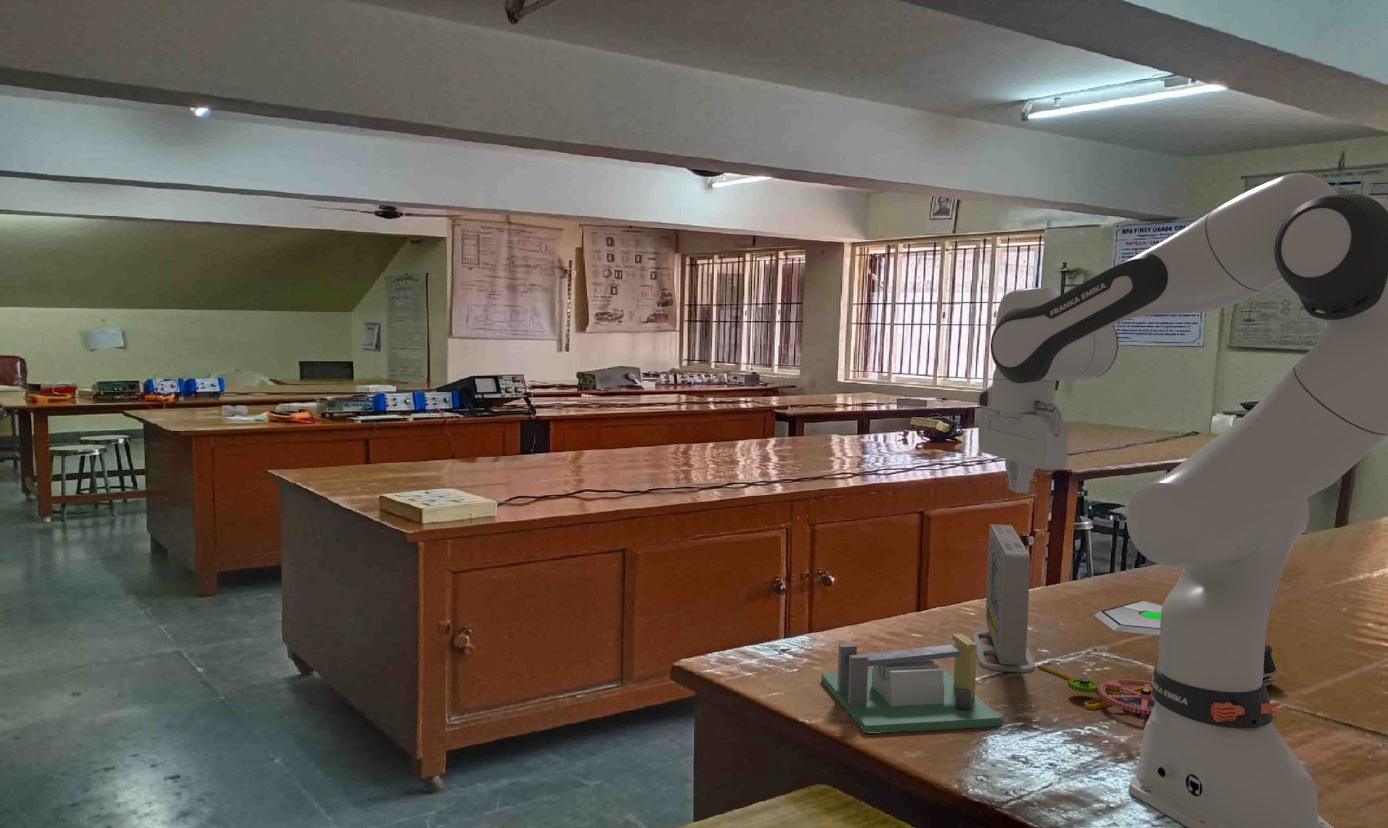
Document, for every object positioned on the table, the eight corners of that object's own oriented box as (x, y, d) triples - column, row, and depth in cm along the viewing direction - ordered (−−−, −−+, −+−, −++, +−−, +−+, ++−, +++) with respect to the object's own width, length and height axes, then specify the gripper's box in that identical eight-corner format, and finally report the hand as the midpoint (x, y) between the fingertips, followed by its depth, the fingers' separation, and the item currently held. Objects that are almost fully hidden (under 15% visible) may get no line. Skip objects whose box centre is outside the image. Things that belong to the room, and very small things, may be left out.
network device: (1040, 680, 152) (1045, 556, 150) (982, 676, 154) (987, 553, 152) (1019, 631, 177) (1023, 524, 175) (969, 628, 179) (973, 521, 177)
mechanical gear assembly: (1183, 749, 128) (1247, 730, 136) (1185, 719, 128) (1249, 702, 136) (1006, 678, 154) (1068, 665, 162) (1008, 652, 154) (1070, 641, 161)
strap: (960, 657, 141) (960, 650, 141) (853, 668, 139) (853, 662, 139) (951, 650, 145) (951, 643, 145) (846, 661, 142) (845, 654, 142)
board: (1002, 725, 134) (1004, 661, 133) (865, 733, 131) (867, 668, 130) (941, 674, 154) (943, 618, 153) (821, 680, 151) (822, 623, 150)
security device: (1069, 623, 185) (1070, 613, 184) (1134, 605, 197) (1134, 595, 197) (1154, 648, 171) (1155, 637, 171) (1218, 627, 183) (1219, 617, 183)
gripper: (1082, 404, 133) (1077, 503, 134) (1009, 394, 153) (1005, 480, 154) (1039, 404, 132) (1034, 504, 133) (972, 394, 152) (968, 481, 153)
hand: (1018, 491), depth 144 cm, fingers closed
